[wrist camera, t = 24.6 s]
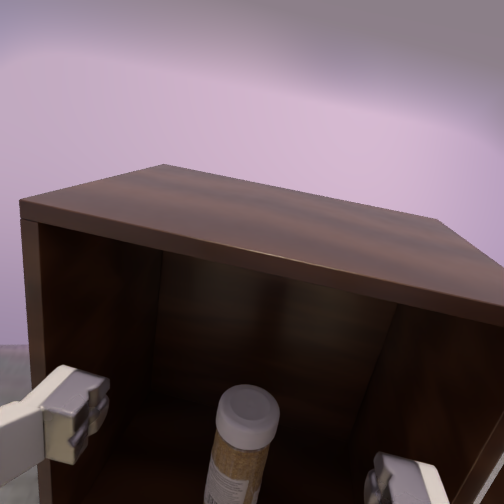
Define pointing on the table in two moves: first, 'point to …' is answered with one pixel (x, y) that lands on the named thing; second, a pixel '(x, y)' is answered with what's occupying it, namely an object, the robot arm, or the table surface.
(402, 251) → the cupboard
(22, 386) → the table surface
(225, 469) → the sprinkles bottle
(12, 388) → the table surface
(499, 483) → the cupboard door
